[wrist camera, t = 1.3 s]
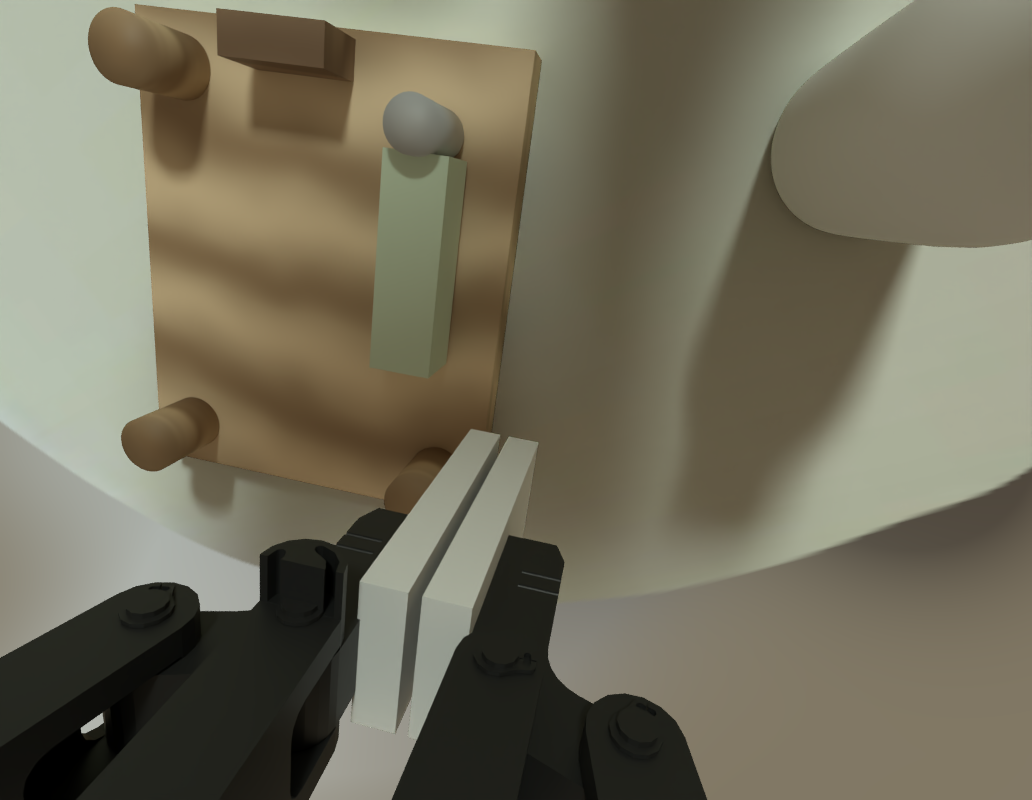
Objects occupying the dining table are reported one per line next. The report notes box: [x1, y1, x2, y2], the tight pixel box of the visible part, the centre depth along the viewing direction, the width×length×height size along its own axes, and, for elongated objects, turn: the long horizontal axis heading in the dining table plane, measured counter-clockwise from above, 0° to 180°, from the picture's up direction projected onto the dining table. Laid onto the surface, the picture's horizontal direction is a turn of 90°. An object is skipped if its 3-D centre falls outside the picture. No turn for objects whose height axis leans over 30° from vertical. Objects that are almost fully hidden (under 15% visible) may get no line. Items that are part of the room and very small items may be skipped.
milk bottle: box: [771, 0, 1032, 248], centre depth 18 cm, size 8×8×20 cm
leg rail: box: [369, 91, 467, 378], centre depth 28 cm, size 12×3×4 cm, turn 172°
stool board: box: [88, 4, 542, 514], centre depth 31 cm, size 24×20×6 cm
